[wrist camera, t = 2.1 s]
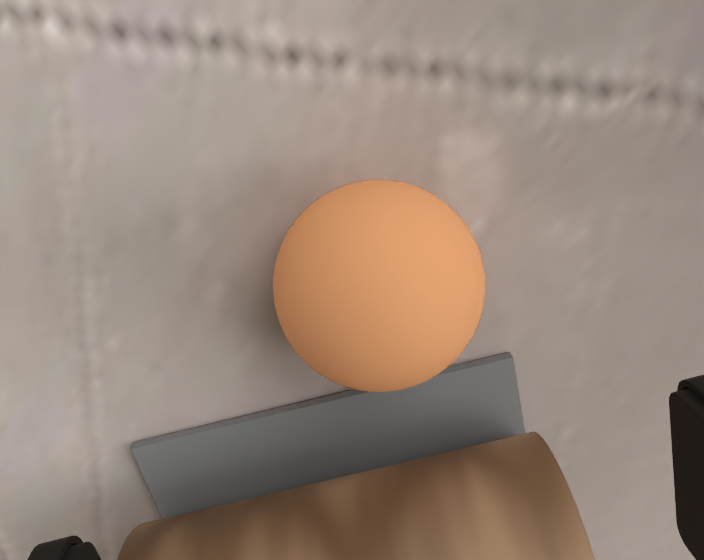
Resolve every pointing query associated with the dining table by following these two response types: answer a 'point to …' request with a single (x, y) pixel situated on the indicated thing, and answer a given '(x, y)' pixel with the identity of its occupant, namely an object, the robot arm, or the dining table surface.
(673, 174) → the dining table surface
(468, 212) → the dining table surface
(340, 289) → the ball
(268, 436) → the throwing mat
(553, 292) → the dining table surface
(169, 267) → the dining table surface
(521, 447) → the brown cylinder
